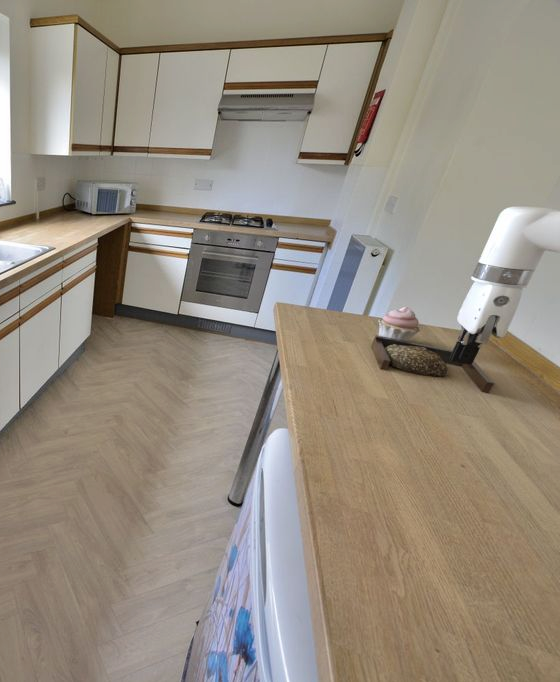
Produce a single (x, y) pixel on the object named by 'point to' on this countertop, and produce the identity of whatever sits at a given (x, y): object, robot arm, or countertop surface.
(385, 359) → the frame
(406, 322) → the cupcake
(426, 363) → the bread roll
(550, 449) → the countertop surface
